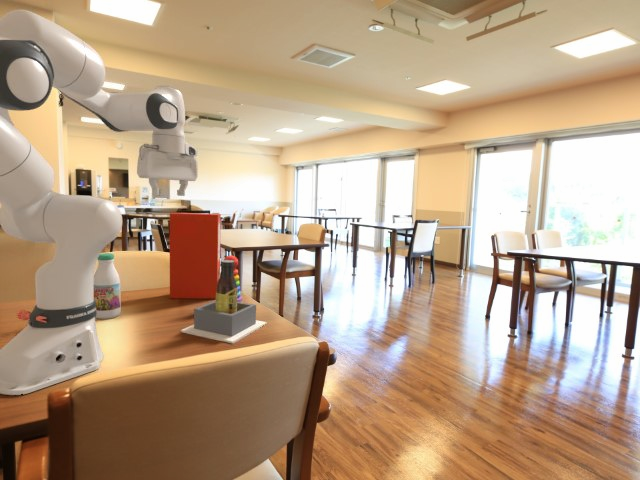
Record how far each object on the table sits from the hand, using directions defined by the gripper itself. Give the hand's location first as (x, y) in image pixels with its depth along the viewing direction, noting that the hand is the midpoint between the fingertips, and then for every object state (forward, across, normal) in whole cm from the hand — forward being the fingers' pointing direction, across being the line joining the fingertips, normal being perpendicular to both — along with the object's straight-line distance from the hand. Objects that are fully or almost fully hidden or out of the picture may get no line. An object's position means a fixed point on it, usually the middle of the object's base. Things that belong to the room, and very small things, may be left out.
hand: (169, 195), depth 112 cm
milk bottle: (+39, -3, +23) cm, 46 cm away
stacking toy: (+39, +24, -5) cm, 46 cm away
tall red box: (+39, +29, +15) cm, 51 cm away
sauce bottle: (+39, +6, -16) cm, 42 cm away
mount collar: (+39, +6, -16) cm, 43 cm away
